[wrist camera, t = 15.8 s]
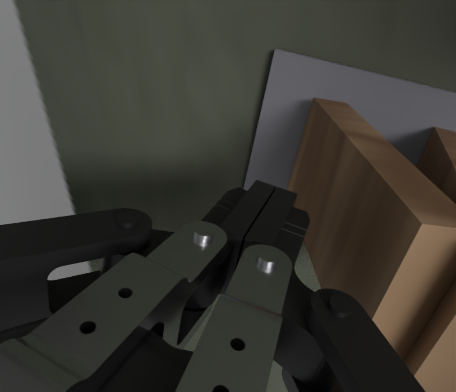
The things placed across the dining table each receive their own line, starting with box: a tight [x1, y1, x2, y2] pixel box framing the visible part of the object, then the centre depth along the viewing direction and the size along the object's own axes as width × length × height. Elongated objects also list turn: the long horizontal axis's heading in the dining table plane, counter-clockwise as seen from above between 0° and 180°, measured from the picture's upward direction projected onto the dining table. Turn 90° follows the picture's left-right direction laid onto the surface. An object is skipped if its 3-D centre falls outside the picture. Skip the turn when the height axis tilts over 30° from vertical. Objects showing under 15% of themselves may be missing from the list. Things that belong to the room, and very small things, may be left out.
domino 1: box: [287, 97, 456, 361], centre depth 14 cm, size 2×5×10 cm, turn 169°
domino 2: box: [403, 127, 456, 392], centre depth 13 cm, size 2×5×10 cm, turn 169°
